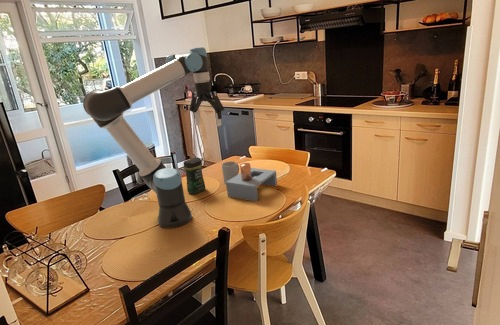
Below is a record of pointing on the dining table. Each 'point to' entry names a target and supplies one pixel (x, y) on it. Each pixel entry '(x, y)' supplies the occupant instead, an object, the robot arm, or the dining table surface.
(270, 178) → the platform
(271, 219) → the dining table surface
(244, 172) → the peg
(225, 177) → the mug
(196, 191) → the coffee jar
